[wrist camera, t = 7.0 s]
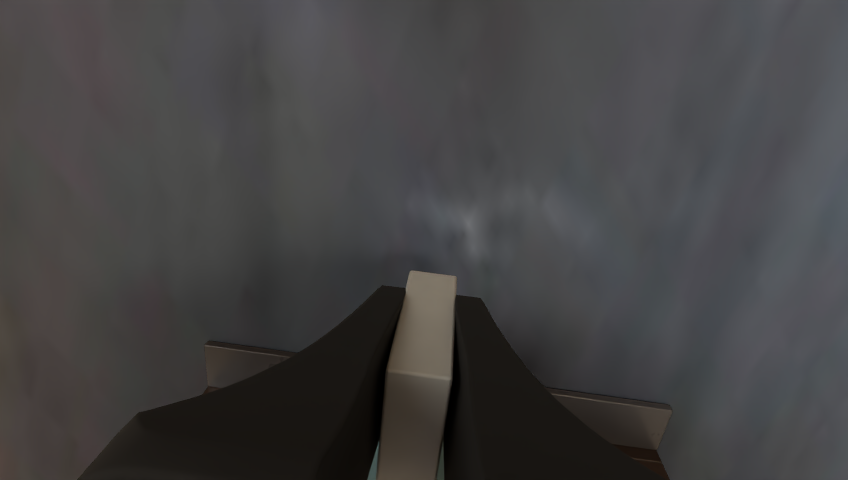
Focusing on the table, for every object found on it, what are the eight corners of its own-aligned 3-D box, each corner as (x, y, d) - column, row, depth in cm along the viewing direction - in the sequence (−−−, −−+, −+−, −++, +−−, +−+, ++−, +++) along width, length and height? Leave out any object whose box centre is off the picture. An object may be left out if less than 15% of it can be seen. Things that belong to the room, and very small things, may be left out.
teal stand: (528, 434, 16) (561, 642, 11) (303, 402, 16) (220, 588, 11) (572, 260, 14) (647, 413, 8) (305, 225, 14) (196, 350, 8)
